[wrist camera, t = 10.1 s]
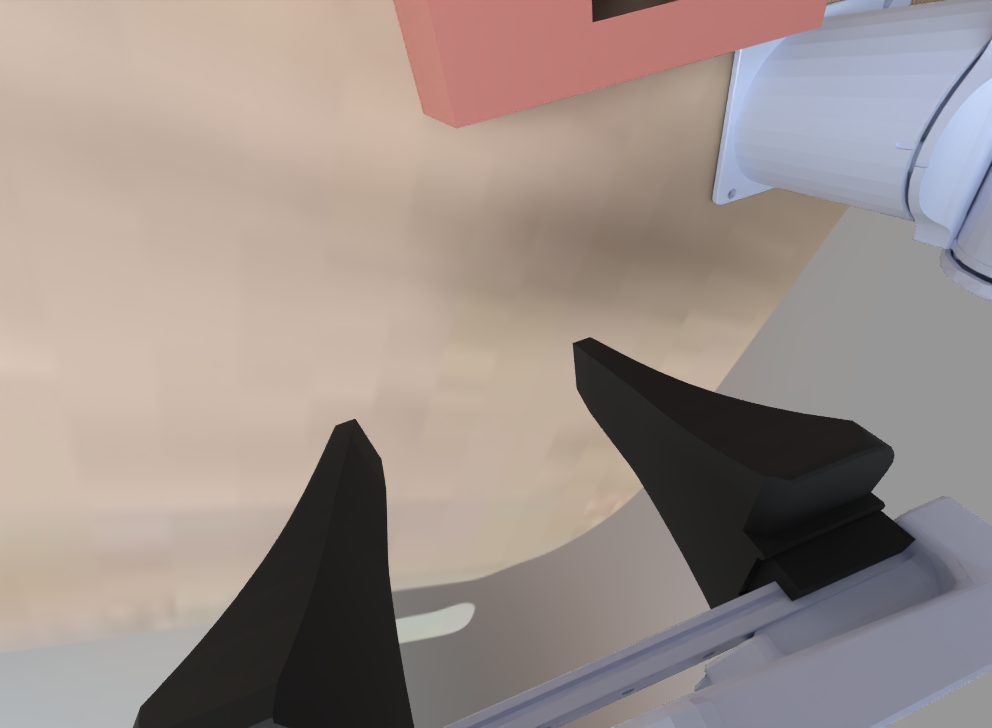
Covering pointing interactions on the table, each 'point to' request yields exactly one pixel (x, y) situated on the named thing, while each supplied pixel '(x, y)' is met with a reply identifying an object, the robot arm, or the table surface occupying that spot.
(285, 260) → the table surface
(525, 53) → the money box
